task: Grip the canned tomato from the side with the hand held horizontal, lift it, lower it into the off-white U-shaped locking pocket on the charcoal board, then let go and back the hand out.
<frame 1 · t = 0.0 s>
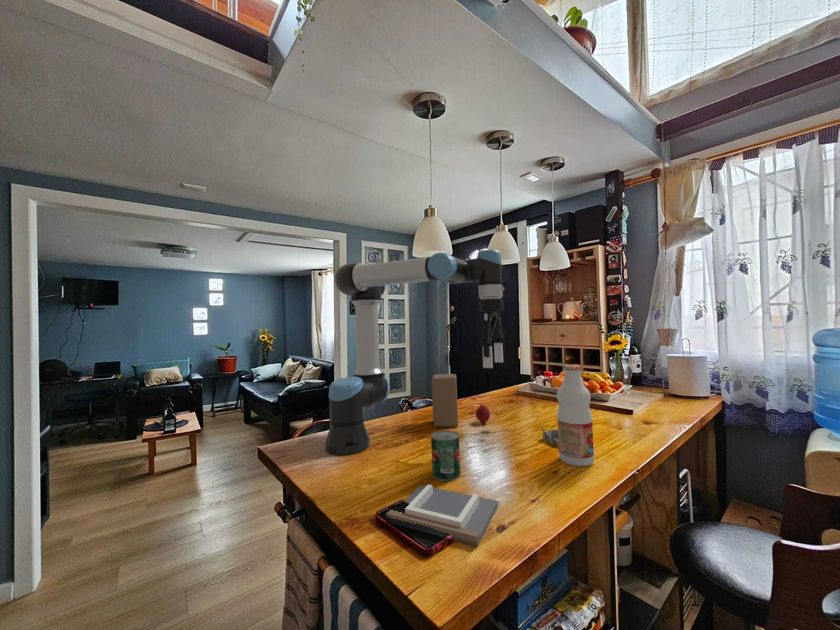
hand: (493, 365, 110), 28 cm above the kitchen island, tool pointing down, fingers open, 13 cm apart
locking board: (444, 513, 76), on the kitchen island
onion: (483, 423, 141), on the kitchen island
canned tomato: (446, 475, 95), on the kitchen island
fruit juice: (576, 461, 101), on the kitchen island
wooden block: (446, 424, 142), on the kitchen island
egg carton: (558, 443, 116), on the kitchen island
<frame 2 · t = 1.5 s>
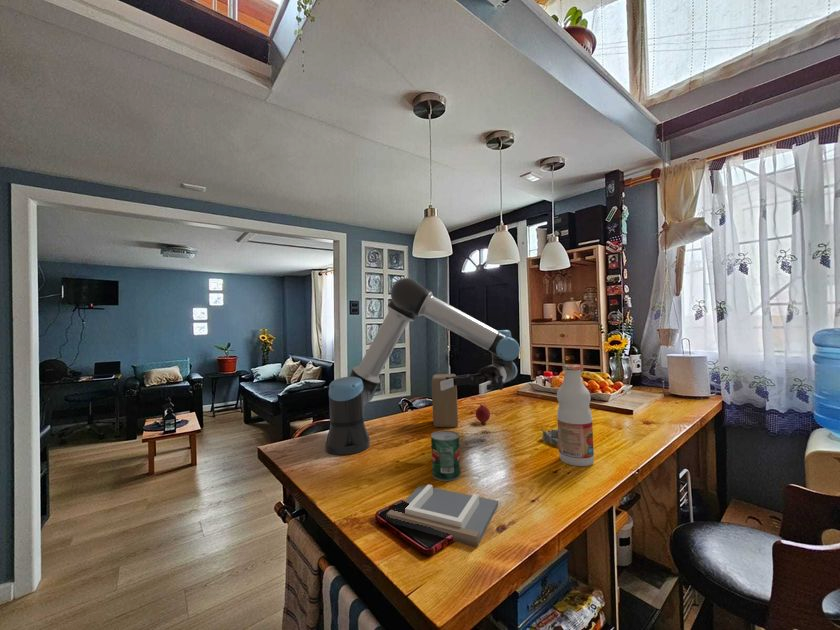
hand: (460, 387, 103), 22 cm above the kitchen island, tool horizontal, fingers open, 13 cm apart
nothing on the kitchen island moved.
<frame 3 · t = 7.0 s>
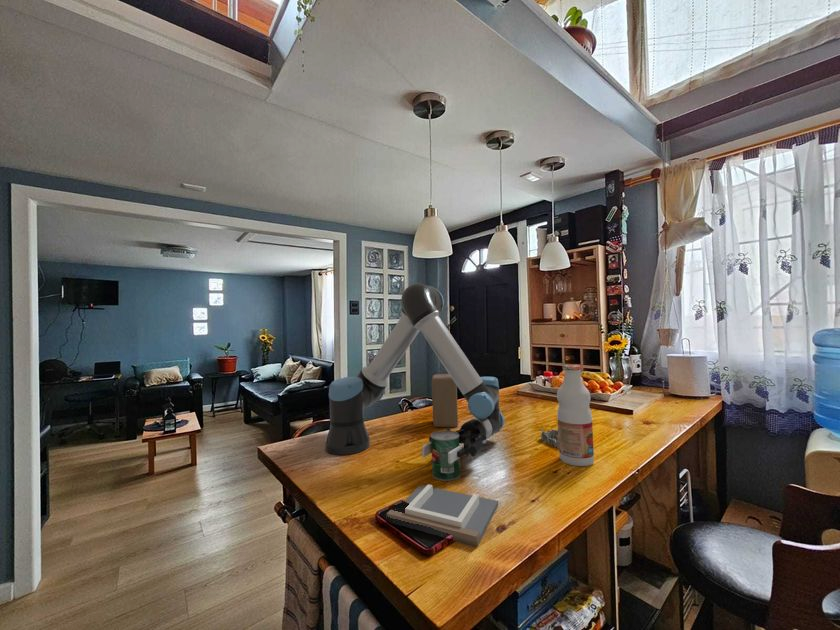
hand: (435, 454, 91), 7 cm above the kitchen island, tool horizontal, fingers closed on canned tomato, 8 cm apart
canned tomato: (446, 475, 95), on the kitchen island, touching gripper
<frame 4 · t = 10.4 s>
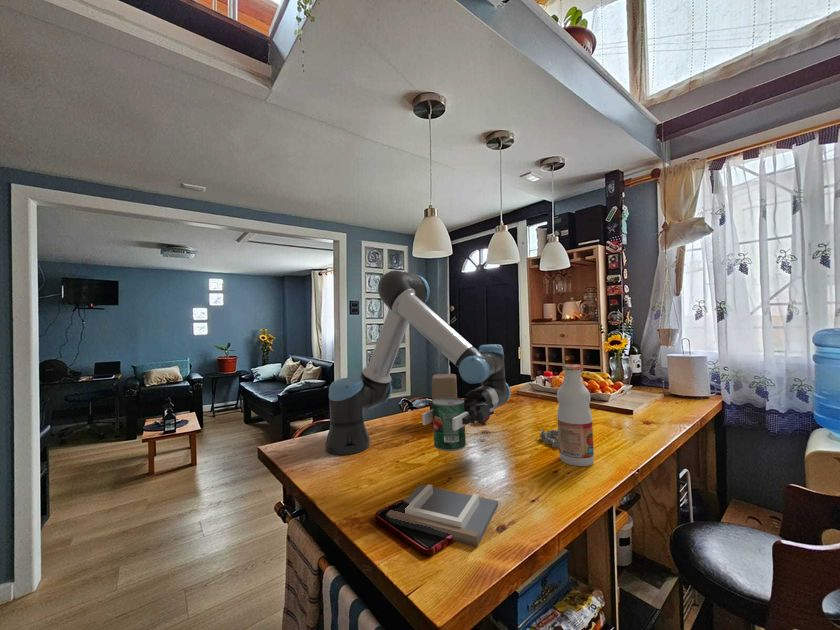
hand: (438, 421, 81), 19 cm above the kitchen island, tool horizontal, fingers closed on canned tomato, 8 cm apart
canned tomato: (450, 446, 85), point 12 cm above the kitchen island, touching gripper
when the fingers open (9 cm above the kitchen island, at t = 13.8 s): canned tomato drops 1 cm, resting on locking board.
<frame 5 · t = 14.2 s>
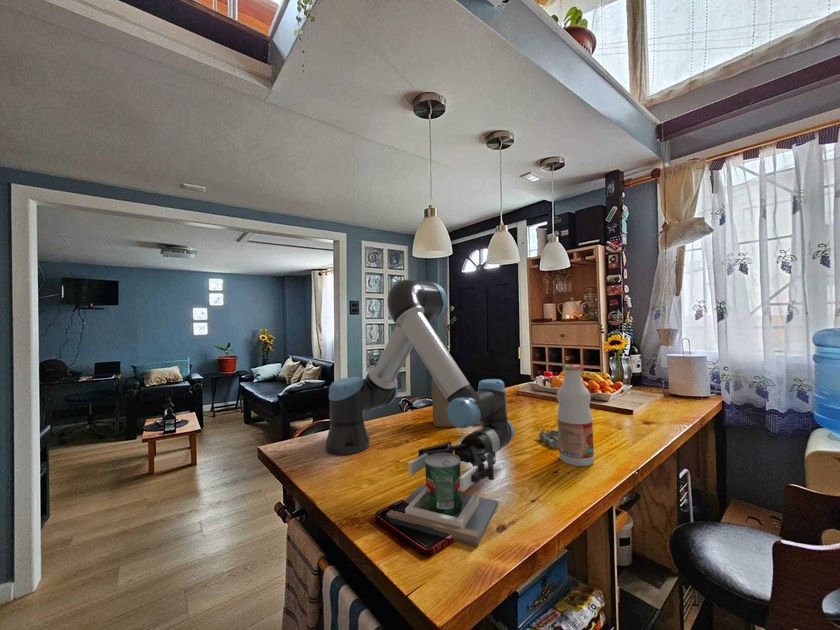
hand: (434, 476, 73), 10 cm above the kitchen island, tool horizontal, fingers open, 13 cm apart
canned tomato: (444, 509, 76), point 1 cm above the kitchen island, touching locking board
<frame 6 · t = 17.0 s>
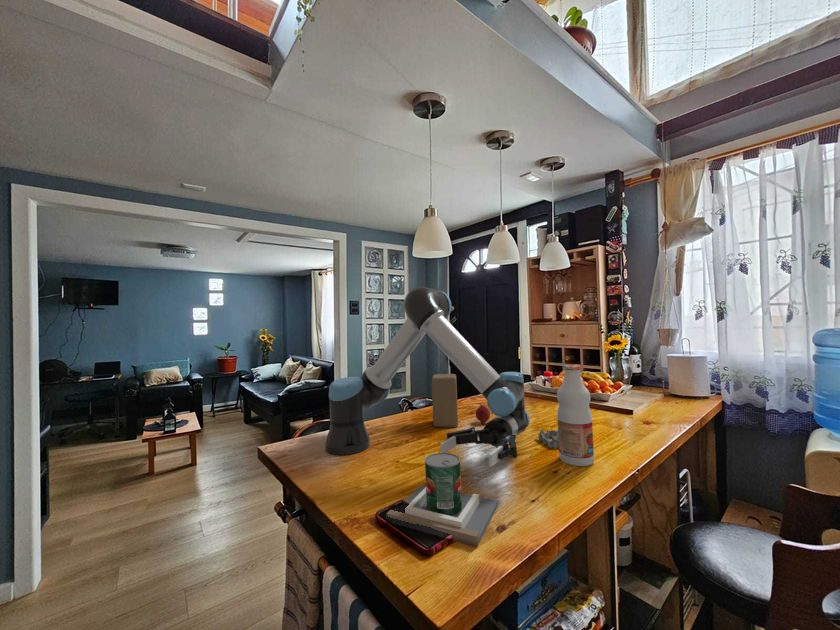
hand: (464, 454, 84), 10 cm above the kitchen island, tool horizontal, fingers open, 13 cm apart
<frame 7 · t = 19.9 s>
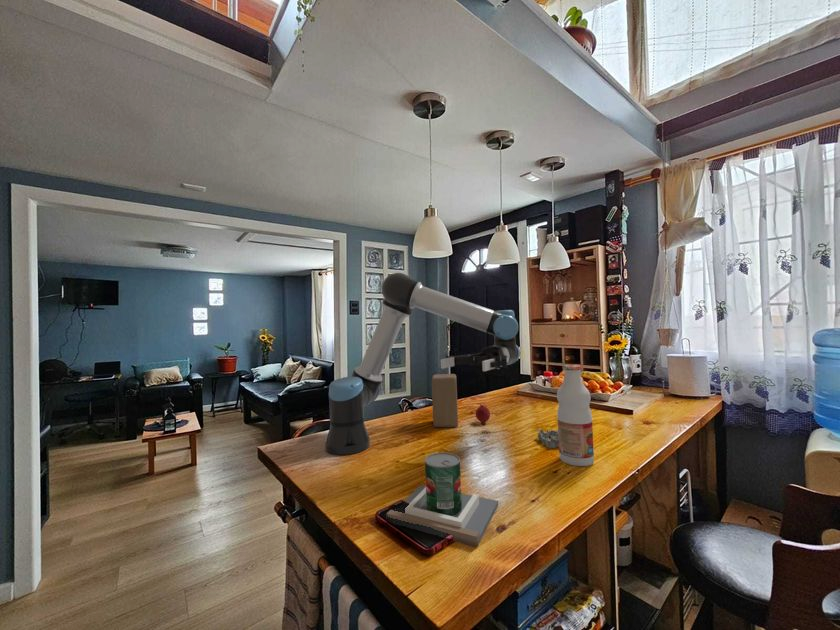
hand: (461, 365, 97), 30 cm above the kitchen island, tool horizontal, fingers open, 13 cm apart
at the end: canned tomato 0.1 cm off-centre on the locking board, point 0.8 cm above the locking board's base; canned tomato tilted 0°; the gripper is holding nothing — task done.
